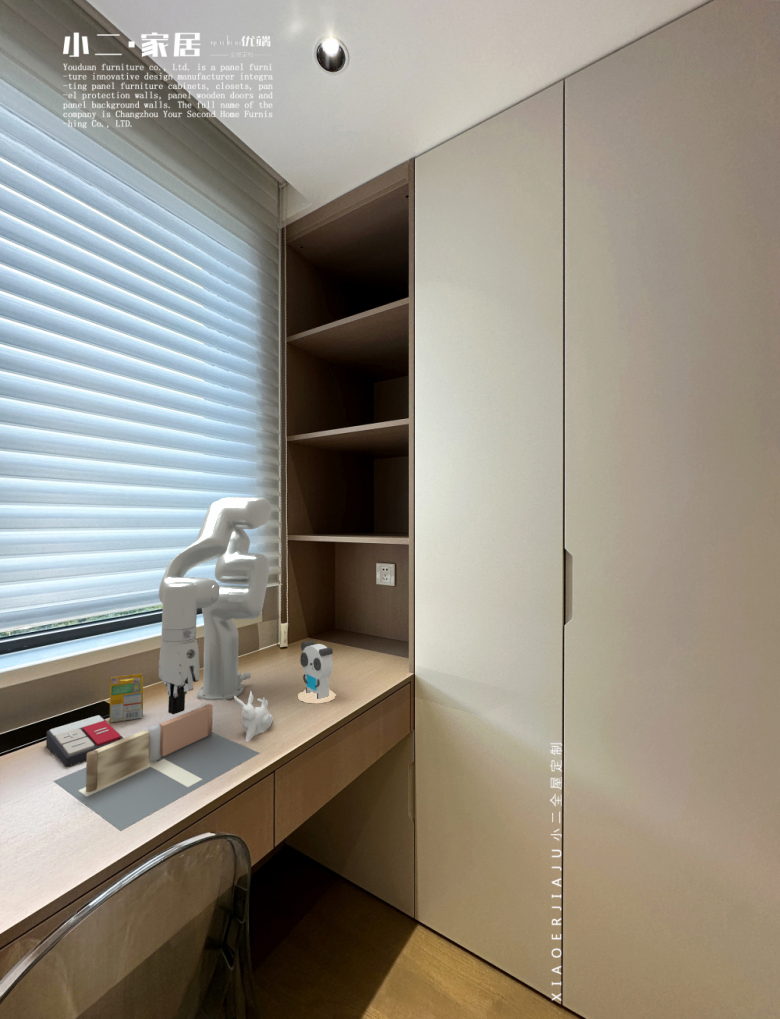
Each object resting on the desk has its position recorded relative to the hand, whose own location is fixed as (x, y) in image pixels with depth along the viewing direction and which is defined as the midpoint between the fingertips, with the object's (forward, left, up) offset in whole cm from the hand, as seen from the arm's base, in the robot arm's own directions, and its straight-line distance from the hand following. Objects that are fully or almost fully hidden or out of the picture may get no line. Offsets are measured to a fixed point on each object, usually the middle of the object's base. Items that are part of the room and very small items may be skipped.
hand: (176, 711), depth 110 cm
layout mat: (+9, +10, -6) cm, 15 cm away
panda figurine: (-38, +11, -6) cm, 40 cm away
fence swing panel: (+3, +7, -5) cm, 9 cm away
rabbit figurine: (-12, +13, -6) cm, 18 cm away
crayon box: (+1, -19, -6) cm, 20 cm away
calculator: (+14, -12, -7) cm, 20 cm away
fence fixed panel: (+17, +7, -6) cm, 19 cm away
